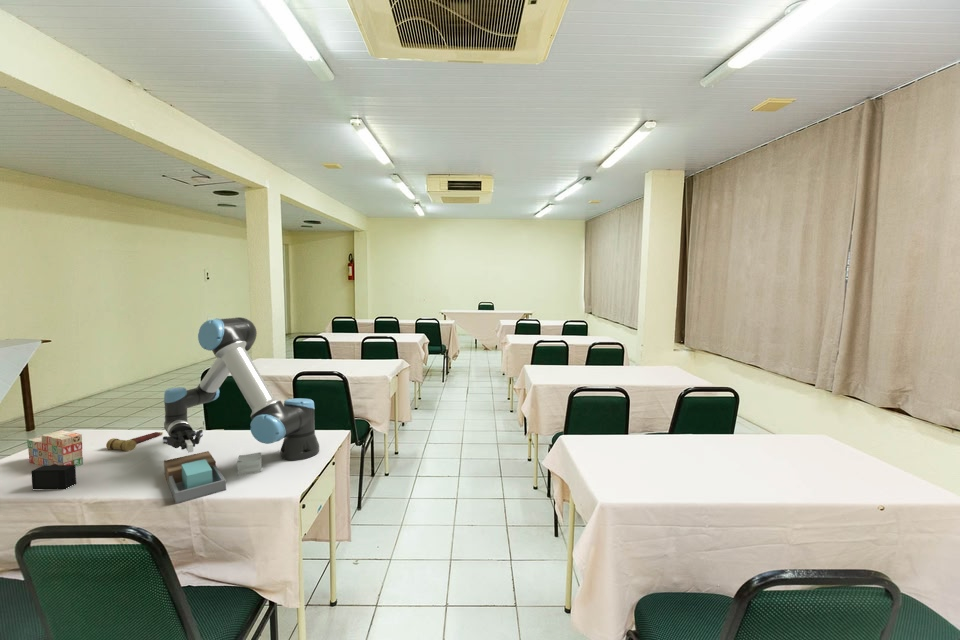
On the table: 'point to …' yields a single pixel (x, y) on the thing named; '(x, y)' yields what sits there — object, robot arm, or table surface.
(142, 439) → the gavel
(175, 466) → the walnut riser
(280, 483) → the table surface
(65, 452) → the stack of blocks
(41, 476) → the digital camera
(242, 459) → the small box
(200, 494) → the bin
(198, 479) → the teal block
